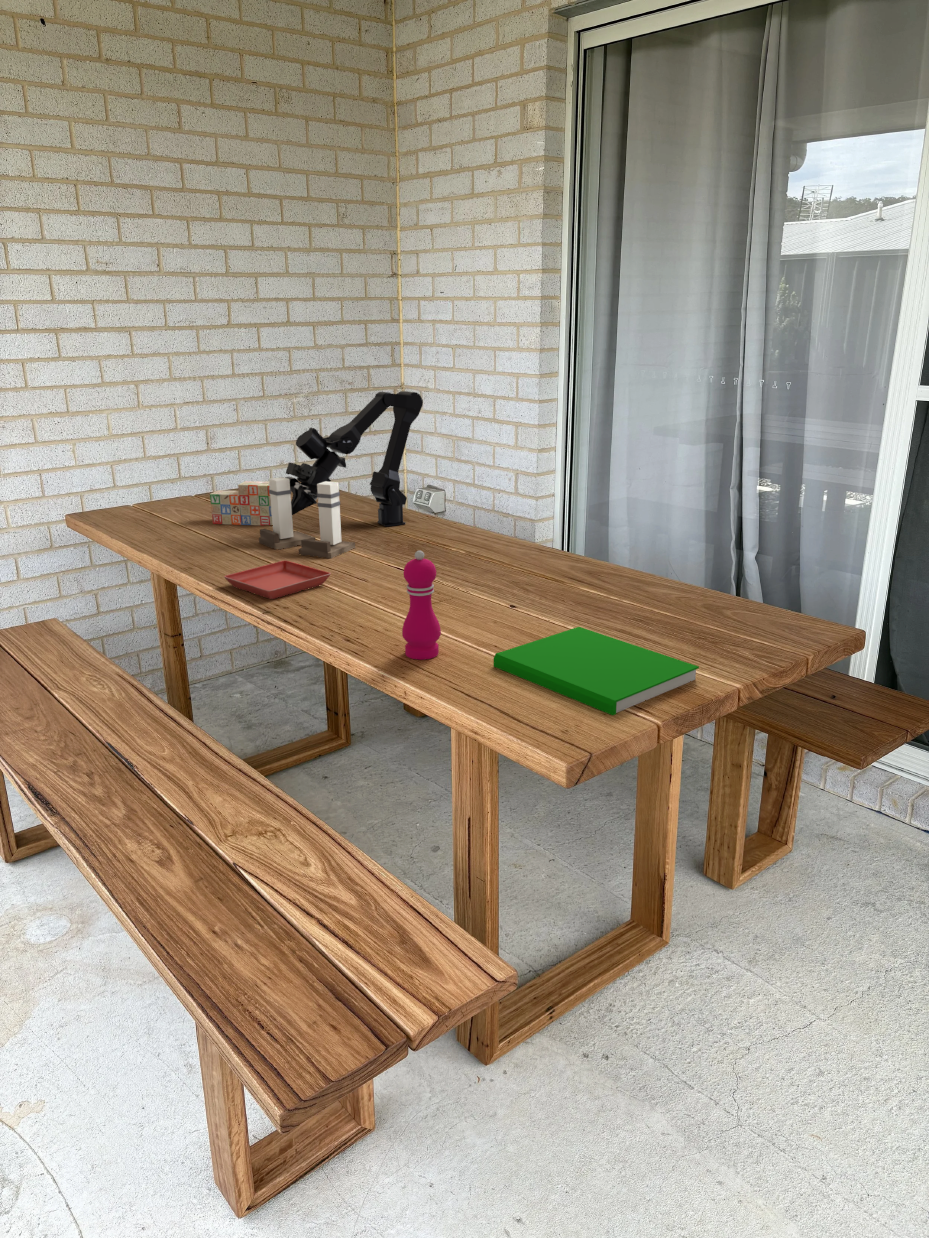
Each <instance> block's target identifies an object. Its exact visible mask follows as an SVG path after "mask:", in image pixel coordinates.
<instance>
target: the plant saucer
mask: <svg viewBox="0 0 929 1238" xmlns="http://www.w3.org/2000/svg"><path fill="white" fill-rule="evenodd" d="M331 575H332V574H331V572H329V571H326V570H322V569H318V568H315V567H312V566H307V565H304V564H300V563H297V562H293V561H291V560H290V561H289V560H279V561H276V562H273V563H267V564H265V565H261V566H256V567H253V568H248V569H245V570H243V571H238V572H234V573H230V574H226V575H224V576H223V578H224V579H225V580H226V581H227V582H228V583H229V584H230V585H231V586H233V587H234V588H235V587H237V588H236V589H238V588H240V589H239V590H241V589H243V590H242V591H244V590H246V591H245V592H247V591H249V593H250V592H251V593H250V594H253V593H255V594H254V595H256V594H258V595H257V596H259V595H260V597H262V596H263V598H265V597H266V599H268V600H269V599H270V600H274V599H275V600H276V599H279V598H282V597H285V595H286V596H289V595H292V593H293V594H296V593H299V592H298V591H300V592H302V591H301V590H304V591H306V590H305V589H307V590H309V589H308V588H311V589H313V588H312V587H314V588H317V587H316V586H318V587H320V586H319V585H321V586H322V585H323V584H324V583H325V582H326V581H327V580H328V578H330V576H331ZM295 592H296V593H295ZM288 594H289V595H288ZM278 597H279V598H278Z"/></svg>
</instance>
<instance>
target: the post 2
mask: <svg viewBox="0 0 929 1238" xmlns="http://www.w3.org/2000/svg"><path fill="white" fill-rule="evenodd" d="M339 485H340V484H339V482H338V481H337V482H335V481H330V482H327V481H325V482H322V483H319V484H317V491H318V493H317V497H318V498H317V503H316V504H317V508H318V518H319V519H318V521H319V522H318V523H319V536H320V540H321V541H327V542H330V545H335V544H337V543H339V542H342V541H343V540H342V527H341V524H342V523H341V506H340V505H341V501H340V496H341V493H340V490H339ZM320 540H319V541H320Z"/></svg>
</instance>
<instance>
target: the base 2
mask: <svg viewBox="0 0 929 1238" xmlns="http://www.w3.org/2000/svg"><path fill="white" fill-rule="evenodd" d="M341 541H342V542H339V543H337V544H335V545H330V542H327V541H321V540H317V539H315V540H309V539H303V540H301V545H300V546H301V548H298V555H299V554H301V555H300V556H306V555H310V556H309V557H314V556H318V557H317V558H322V557H326V558H325V559H333V557H334V558H336V557H337V555H338V556H340V555H342V553H343V554H344V552H345V553H347V552H349V551H352V550H353V548H354V549H356V542H354V541H345V540H341ZM351 549H352V550H351ZM339 554H340V555H339ZM335 556H336V557H335Z"/></svg>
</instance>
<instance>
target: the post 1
mask: <svg viewBox="0 0 929 1238" xmlns="http://www.w3.org/2000/svg"><path fill="white" fill-rule="evenodd" d="M268 481H269V486H270V490H269V493H270V499H271V512H272V525H273V526H272V531H273V532H275V533H278V534H279V539H284V538H290V537H293V532H294V525H293V515H292V509H291V501H292V496H291V494H292V492H291V490H290V480H289V479H288V478H285V476H284V477H283V476H280V477H272V478H268Z"/></svg>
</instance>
